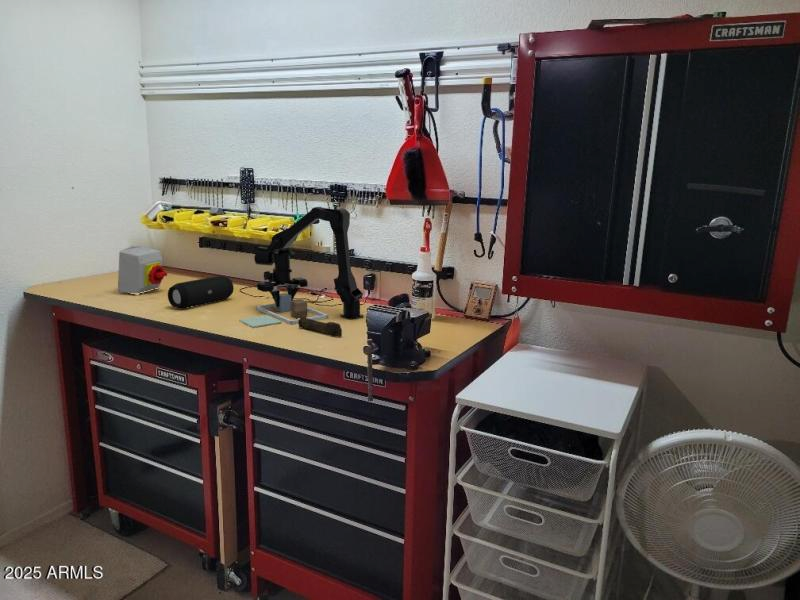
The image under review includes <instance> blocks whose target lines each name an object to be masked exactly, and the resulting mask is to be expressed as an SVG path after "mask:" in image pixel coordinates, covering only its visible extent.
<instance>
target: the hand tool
mask: <svg viewBox="0 0 800 600" xmlns="http://www.w3.org/2000/svg"><path fill="white" fill-rule="evenodd" d="M307 318H308V317H307ZM307 318H306V317H301V318H300V319H299V320H298V323H297V324H298V327H299V328H300V327H302V328H301V329H308V330H312V331H316V332H320V333H324V334H326V336H328V335H331V336H330V337H333V336H338V337H337V338H341V337H343V335H342V334H343V332H342V331H343V330H342V327H341V324H340V323H338V322H333V321H328V322H322V321H320V320H312V319H307Z"/></svg>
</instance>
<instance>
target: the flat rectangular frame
mask: <svg viewBox="0 0 800 600" xmlns="http://www.w3.org/2000/svg"><path fill="white" fill-rule="evenodd" d="M270 308H275V302H274V303H268V304H261V305H255V310H256V311H259V312H261V313H263V312H264V314H265V315H268V316H270V317H272V316H273V317H272V318H274V317H275V318H274V319H277V320H279V319H280V320H279V321H281V320H282V321H281V322H283V321H284V322H283V323H286V324H288V323H289V324H288V325H290V324H291V325H296V324H295V323H297V324H298V320H299V319H293V320H291V319H288V318H286V317H284V316H281V314H277V313H275V312H273V311H271V310H268V309H270ZM307 312H309V313H311V314H314V315H316V316H312V317H311V316H310V317H307V319H312V320H315V321H320V319H321V320H326V318H327V319H329V314H326V313H325V312H321V311H318V310H316V309H313V308H311V307H308V306H307Z"/></svg>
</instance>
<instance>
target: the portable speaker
mask: <svg viewBox="0 0 800 600" xmlns="http://www.w3.org/2000/svg"><path fill="white" fill-rule="evenodd" d="M233 293H234V284H233V281H232V279H231V278H230V277H227V276H224V275H214V276H210V277H204V278H199V279H194V280H188V281H182V282H177V283H175V284H173V285H172V286H170V287H169V289H168V290H167V299H168V302H169V304H170V305H171V307H173V308H175V309H180V308H185V309H188V308H187V307H189V308H192V307H191V306H194V307H197V306H196V305H198V306H201V304H203V305H206V304H205V303H207V304H211V303H210V302H212V303H215V302H214V301H216V302H219V300H220V301H224V300H227V299H228V298H229V297H231V296H232V295H233Z"/></svg>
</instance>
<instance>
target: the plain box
mask: <svg viewBox="0 0 800 600" xmlns="http://www.w3.org/2000/svg"><path fill="white" fill-rule="evenodd" d="M307 307H308V301H306V300H305V299H302V298H300V299H293V300H292V301H290V311H289V312H290V318H293V317H294V318H293V319H295V318H296V319H295V320H297V319H298V318H301V317H307V318H308V311H307Z"/></svg>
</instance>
